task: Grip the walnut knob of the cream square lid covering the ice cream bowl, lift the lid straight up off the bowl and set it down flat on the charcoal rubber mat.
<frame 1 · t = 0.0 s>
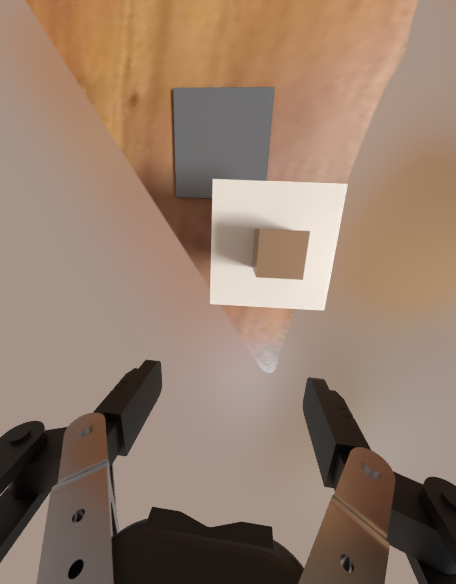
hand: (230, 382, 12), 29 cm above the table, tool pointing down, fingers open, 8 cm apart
lid: (271, 248, 23), point 15 cm above the table, touching ice cream bowl
mat: (221, 147, 34), on the table
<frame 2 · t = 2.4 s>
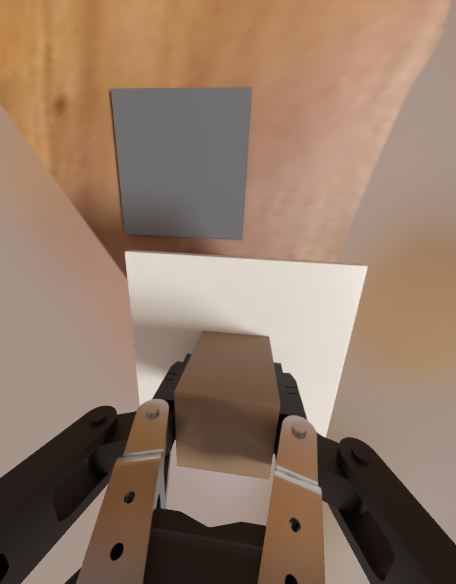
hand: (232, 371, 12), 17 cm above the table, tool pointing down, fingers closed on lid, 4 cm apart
lid: (234, 354, 14), point 15 cm above the table, touching gripper, ice cream bowl
mat: (182, 170, 25), on the table
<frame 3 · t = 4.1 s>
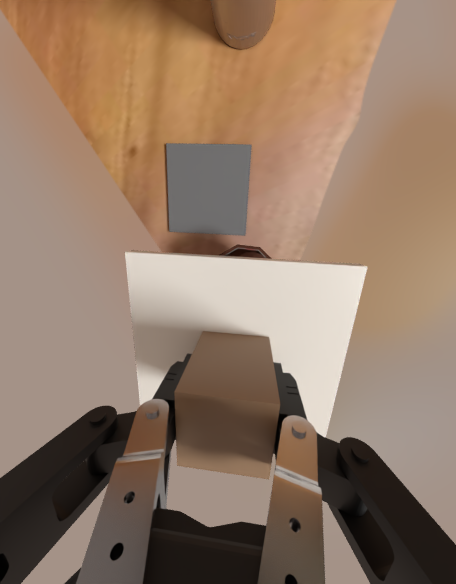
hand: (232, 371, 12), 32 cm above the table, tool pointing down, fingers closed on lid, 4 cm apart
lid: (234, 354, 14), point 30 cm above the table, touching gripper
ice cream bowl: (245, 268, 43), on the table
mat: (208, 191, 39), on the table
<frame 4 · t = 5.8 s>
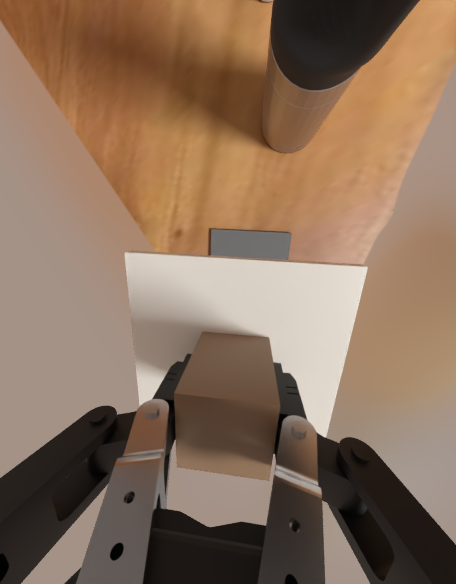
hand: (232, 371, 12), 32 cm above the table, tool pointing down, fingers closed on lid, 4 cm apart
lid: (234, 355, 14), point 30 cm above the table, touching gripper
mat: (247, 269, 42), on the table
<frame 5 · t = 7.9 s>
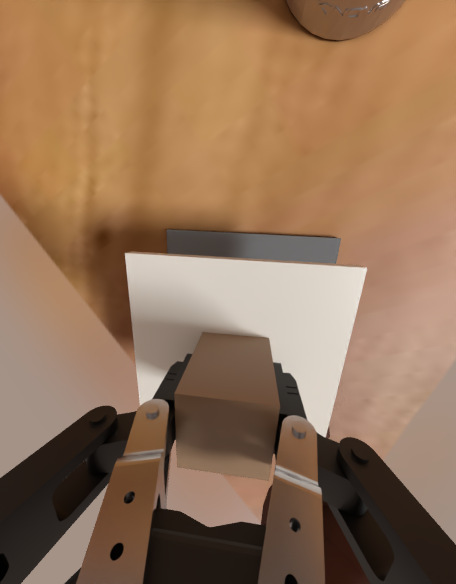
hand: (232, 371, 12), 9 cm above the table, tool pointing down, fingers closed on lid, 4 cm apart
lid: (234, 355, 14), point 7 cm above the table, touching gripper
ice cream bowl: (304, 426, 25), on the table
mat: (244, 311, 21), on the table
when the fingers open (4 cm above the table, at t = 9.5 s): lid drops 1 cm, resting on mat.
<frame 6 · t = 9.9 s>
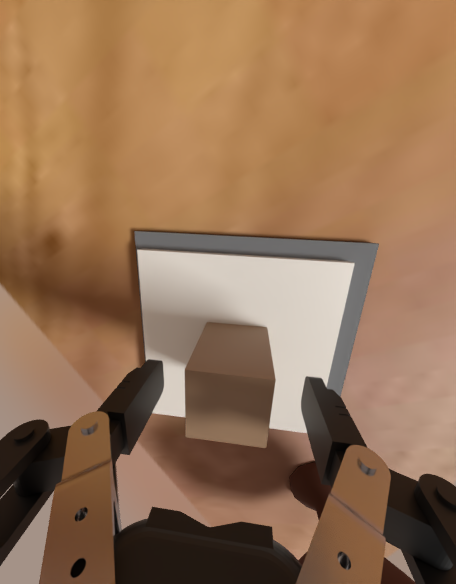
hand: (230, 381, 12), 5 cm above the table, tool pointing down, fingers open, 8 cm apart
lid: (235, 344, 15), point 1 cm above the table, touching mat
ice cream bowl: (319, 480, 20), on the table
mat: (242, 339, 16), on the table
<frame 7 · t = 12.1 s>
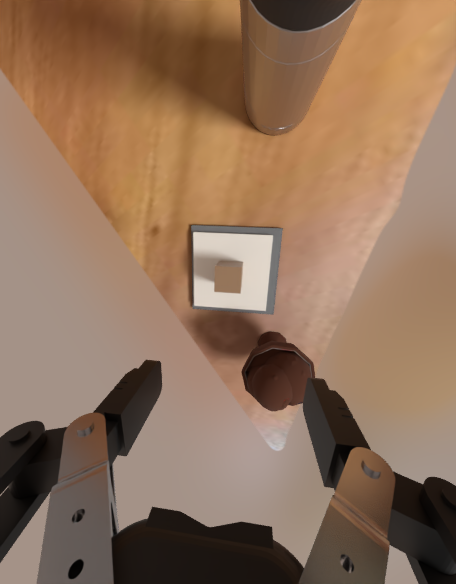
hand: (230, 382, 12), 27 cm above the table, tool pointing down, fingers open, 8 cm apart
lid: (231, 272, 37), point 1 cm above the table, touching mat
ice cream bowl: (272, 343, 41), on the table
mat: (234, 271, 37), on the table
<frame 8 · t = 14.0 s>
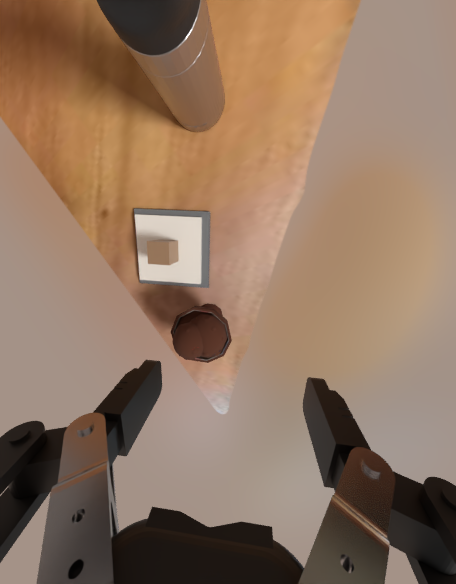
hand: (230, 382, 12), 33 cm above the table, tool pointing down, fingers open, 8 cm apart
lid: (170, 250, 43), point 1 cm above the table, touching mat
ice cream bowl: (210, 314, 47), on the table
mat: (173, 249, 43), on the table
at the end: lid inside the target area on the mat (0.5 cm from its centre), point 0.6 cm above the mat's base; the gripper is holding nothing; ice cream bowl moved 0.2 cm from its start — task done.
